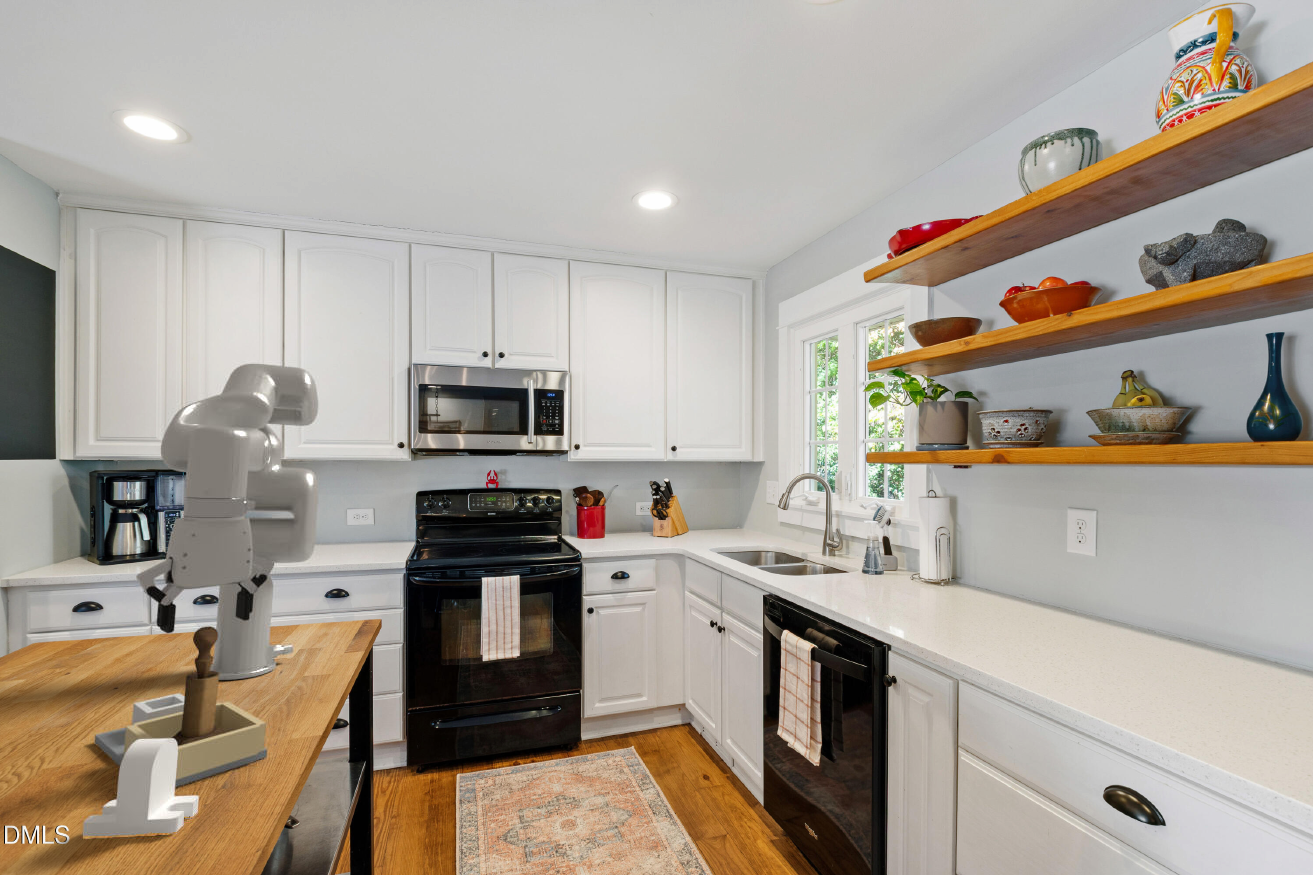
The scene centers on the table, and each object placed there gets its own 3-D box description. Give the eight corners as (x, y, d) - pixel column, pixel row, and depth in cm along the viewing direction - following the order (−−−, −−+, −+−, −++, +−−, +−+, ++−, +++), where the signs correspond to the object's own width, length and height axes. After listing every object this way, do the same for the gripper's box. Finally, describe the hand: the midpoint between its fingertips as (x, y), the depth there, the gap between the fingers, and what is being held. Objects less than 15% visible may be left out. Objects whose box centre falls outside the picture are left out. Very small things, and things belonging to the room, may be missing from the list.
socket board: (201, 715, 107) (203, 684, 107) (268, 758, 93) (271, 722, 93) (94, 742, 95) (97, 708, 96) (152, 796, 82) (156, 755, 82)
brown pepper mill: (233, 747, 94) (243, 625, 95) (189, 765, 87) (200, 635, 88) (202, 738, 96) (212, 620, 97) (156, 756, 90) (167, 629, 91)
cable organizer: (174, 835, 74) (182, 748, 74) (79, 839, 72) (87, 751, 72) (199, 811, 79) (206, 730, 79) (110, 814, 77) (118, 732, 78)
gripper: (266, 505, 103) (258, 610, 102) (133, 508, 88) (123, 630, 88) (288, 509, 98) (280, 619, 98) (153, 514, 84) (142, 642, 83)
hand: (206, 624), depth 93 cm, fingers open, 9 cm apart
